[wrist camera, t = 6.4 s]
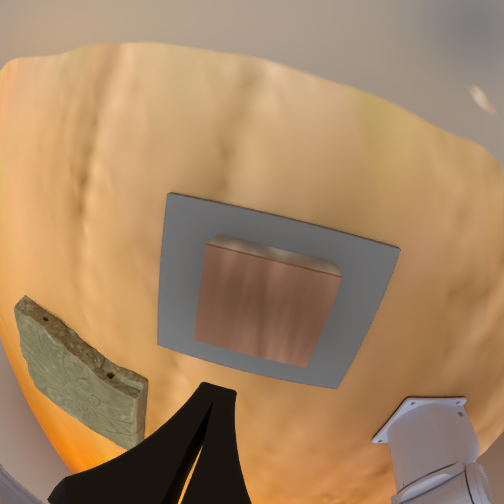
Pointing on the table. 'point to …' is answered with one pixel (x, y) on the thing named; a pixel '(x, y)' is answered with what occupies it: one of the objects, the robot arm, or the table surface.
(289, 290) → the slab
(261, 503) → the table surface
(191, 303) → the mat
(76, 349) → the decorative tile
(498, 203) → the table surface
